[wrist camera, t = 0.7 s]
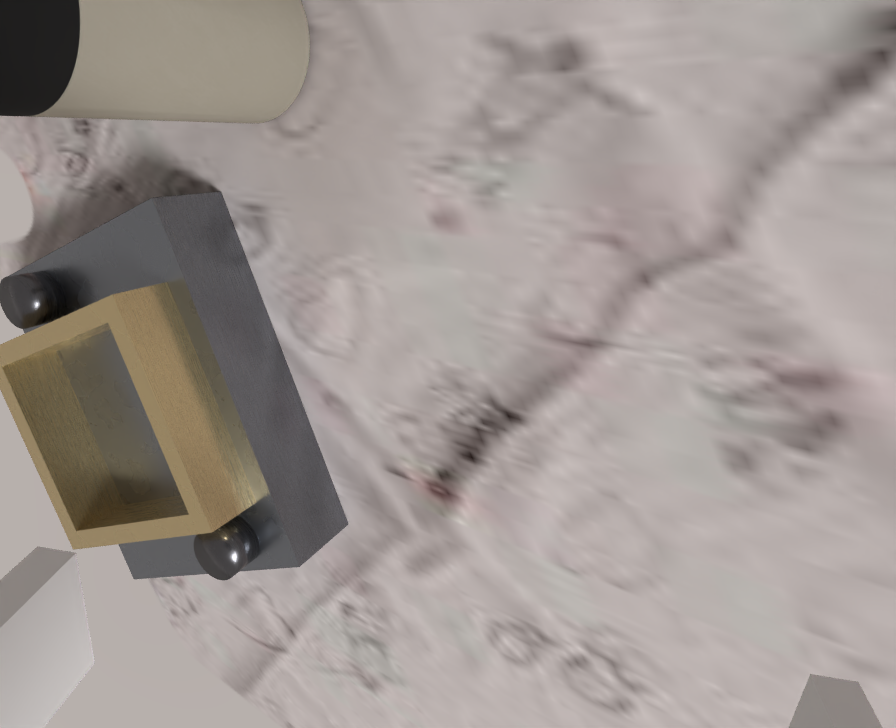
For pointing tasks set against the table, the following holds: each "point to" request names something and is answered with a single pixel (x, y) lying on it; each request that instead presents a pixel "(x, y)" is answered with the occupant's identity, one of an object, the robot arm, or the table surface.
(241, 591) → the table surface
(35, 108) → the travel mug
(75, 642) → the robot arm
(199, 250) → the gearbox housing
